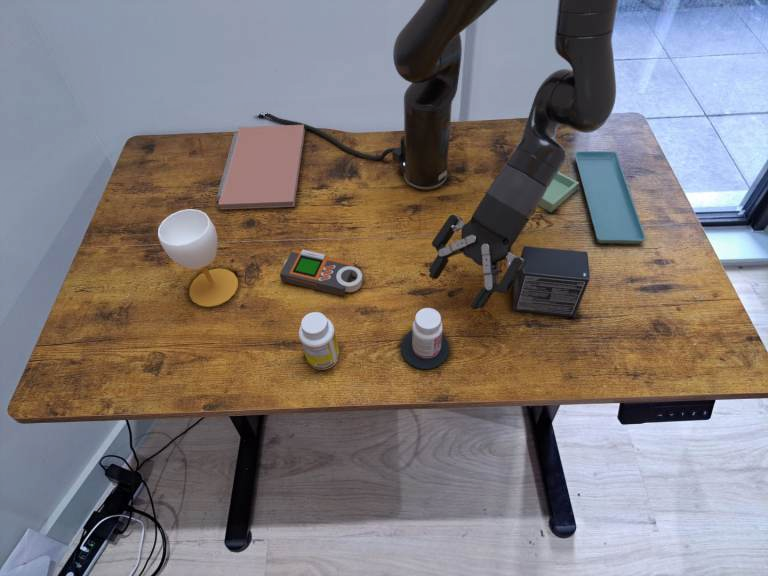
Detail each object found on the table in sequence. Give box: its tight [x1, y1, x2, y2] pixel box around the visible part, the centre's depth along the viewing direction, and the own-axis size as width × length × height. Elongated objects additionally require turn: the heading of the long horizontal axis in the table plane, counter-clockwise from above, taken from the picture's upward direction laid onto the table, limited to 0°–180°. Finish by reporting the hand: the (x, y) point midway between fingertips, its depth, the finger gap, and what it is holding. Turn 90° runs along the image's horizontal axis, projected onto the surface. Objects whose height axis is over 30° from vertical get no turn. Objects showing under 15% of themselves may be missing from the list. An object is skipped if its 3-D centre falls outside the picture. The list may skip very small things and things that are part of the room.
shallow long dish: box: [573, 150, 647, 245], centre depth 104 cm, size 26×9×2 cm, turn 177°
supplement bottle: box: [298, 311, 340, 371], centre depth 81 cm, size 6×6×10 cm
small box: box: [512, 245, 591, 318], centre depth 86 cm, size 11×6×10 cm, turn 80°
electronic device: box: [279, 248, 363, 297], centre depth 94 cm, size 7×3×15 cm
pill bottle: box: [412, 307, 444, 358], centre depth 81 cm, size 5×5×8 cm
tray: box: [538, 171, 580, 213], centre depth 107 cm, size 11×9×2 cm
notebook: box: [215, 124, 306, 211], centre depth 115 cm, size 27×17×2 cm, turn 1°
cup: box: [157, 208, 239, 308], centre depth 89 cm, size 9×9×16 cm
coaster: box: [400, 329, 450, 371], centre depth 85 cm, size 8×8×1 cm
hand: (452, 292), depth 80 cm, fingers open, 8 cm apart
